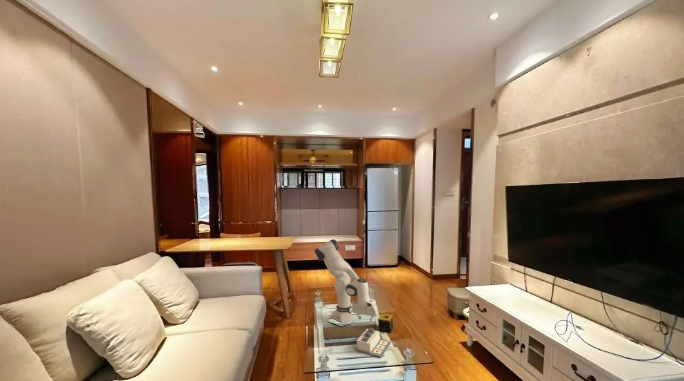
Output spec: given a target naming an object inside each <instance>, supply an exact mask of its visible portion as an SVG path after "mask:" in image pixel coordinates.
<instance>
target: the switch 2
mask: <svg viewBox="0 0 684 381" xmlns="http://www.w3.org/2000/svg"><path fill="white" fill-rule="evenodd" d="M371 336H372V332H368V331H367V332H366V333H365V337H368V338H370V337H371Z"/></svg>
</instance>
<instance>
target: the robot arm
mask: <svg viewBox="0 0 684 381" xmlns="http://www.w3.org/2000/svg"><path fill="white" fill-rule="evenodd" d="M339 249H340V246H339V242H338V241H337V240H336V239H330V240H329V241H326V242H324V243H323V244H321V245H319V247H317V248H315V249H314V252H313V253H314V257H315V258H316V259H317V261H324V264H325V266H326V268H327V270H328V271H329V273H330V275H331V276H333V277H334V278H335V279H336V280H335V283H334V285H333V286H334V287H333V288H334V290H335V291H336V296H337V305H335V310H334V311H332V313H331V314H330V318H331V319H334V320H336V321H338V322H340V323H342V324H350V323H351V322H352V321H353V320H354V318H353V317H354V316H353V314H356V315H357V317H358V318H357V319H358V320H361V319H362V316H361V315H365V316H368V317H369V316H370V318H369V322H373V319H374V318H375V317H377V316H378V314H379V309H378V305H377V301H376V300H375V299H373V298H371V297H370V295H369V290H370V289H369V284H368V281H367V280H366V279H365V278H362V277H360V276H359V274H358V273H357V272H356V271H355V270H354V268H353V267H352V265H351V264H350V263H349V262H347V261H346V260H345V259H344V258H343V257H342V255H341V254H340V253H339ZM351 281H352V282H351ZM351 297H357V299H353V300H352V299H351ZM351 300H352V301H351Z"/></svg>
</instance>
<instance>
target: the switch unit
mask: <svg viewBox="0 0 684 381" xmlns="http://www.w3.org/2000/svg"><path fill="white" fill-rule="evenodd" d="M368 329H369V328H366V329H365V331H363V333H361V335H360V336H359V337H358V338H357V340H356V346H355V347H354V348H353V351H354V350H356V351H355V352H358V353H360V354H361V353H362V354H365V355H369V356H373V357H376V358H379V359H381V358H383V356H384V354H385V352H386V351H387V350H388V348H389V347H390V345H391V344H392V341H391V340H386V339H382V338H381V336H380V333H381V332H379V331H378V330H375V332H374V333H373V334H372V336H371V337H370V338H368V337H366V338H368V341H367V342H364V341H362V338H363V337H365V333H366V332H367V331H368Z"/></svg>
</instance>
